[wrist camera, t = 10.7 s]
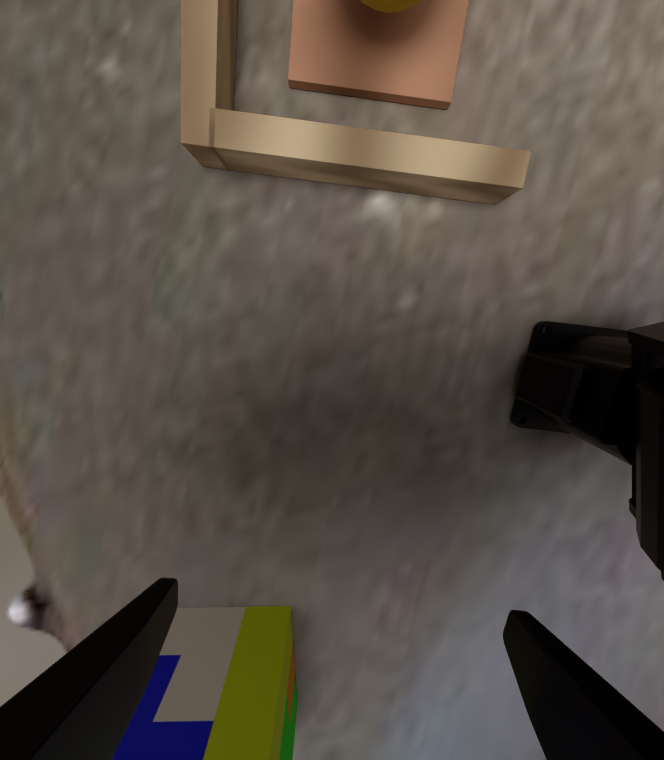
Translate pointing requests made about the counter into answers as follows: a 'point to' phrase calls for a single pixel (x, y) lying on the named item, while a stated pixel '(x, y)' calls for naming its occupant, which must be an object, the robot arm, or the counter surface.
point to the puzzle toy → (219, 689)
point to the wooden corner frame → (343, 77)
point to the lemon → (390, 5)
